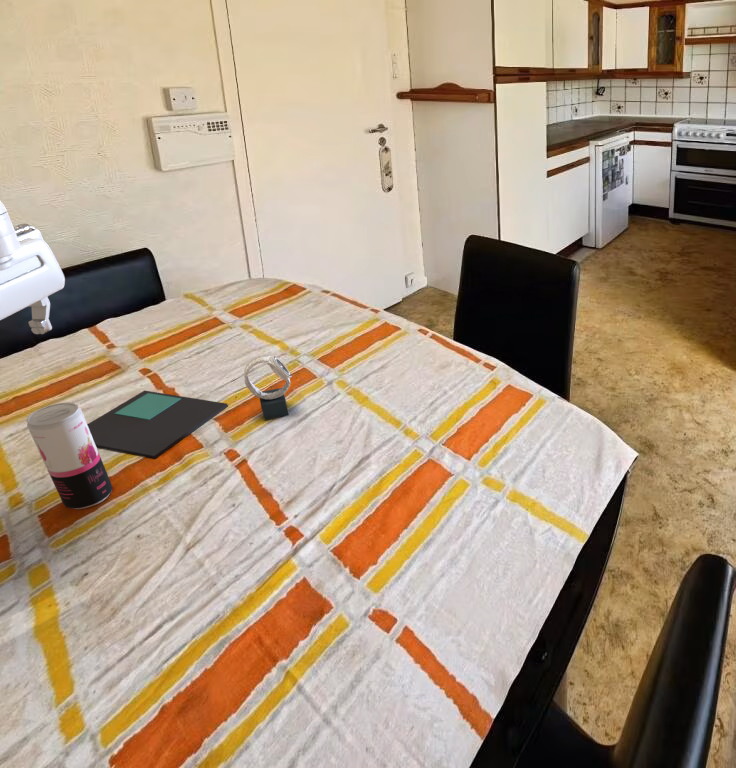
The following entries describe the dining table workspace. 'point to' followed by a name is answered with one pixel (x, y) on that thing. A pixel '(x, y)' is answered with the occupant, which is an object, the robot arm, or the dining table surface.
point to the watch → (271, 399)
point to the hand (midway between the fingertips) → (17, 346)
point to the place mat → (152, 426)
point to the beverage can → (70, 454)
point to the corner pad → (148, 406)
